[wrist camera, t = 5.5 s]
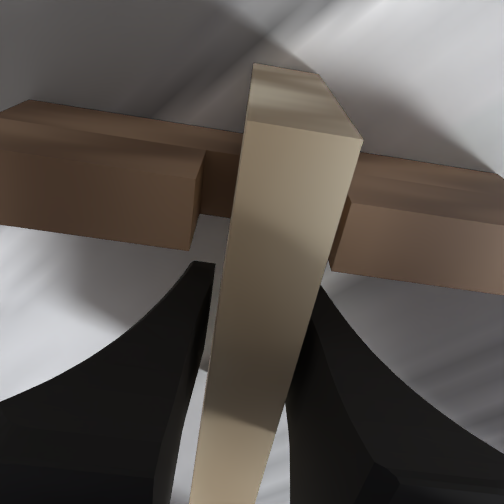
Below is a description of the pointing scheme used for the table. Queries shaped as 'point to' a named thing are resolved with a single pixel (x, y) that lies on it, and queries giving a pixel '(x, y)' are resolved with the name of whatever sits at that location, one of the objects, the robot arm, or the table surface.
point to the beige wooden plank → (270, 272)
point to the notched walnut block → (223, 189)
